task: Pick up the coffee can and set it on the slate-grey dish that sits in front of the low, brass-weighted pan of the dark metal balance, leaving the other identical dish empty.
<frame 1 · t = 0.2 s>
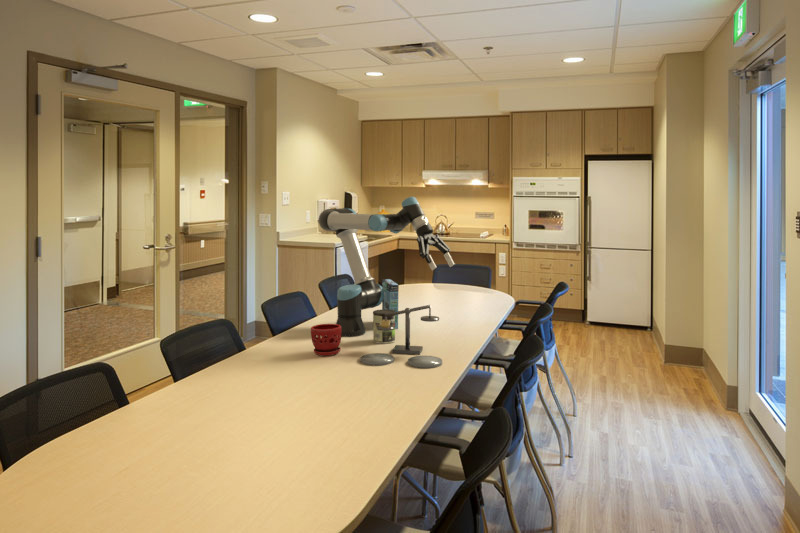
hand: (443, 267, 264), 35 cm above the table, tool tilted 35°, fingers open, 13 cm apart
balance: (407, 351, 255), on the table
dish left: (377, 360, 241), on the table
dish right: (425, 363, 237), on the table
plant pot: (326, 353, 252), on the table
gum box: (390, 325, 306), on the table
coffee can: (384, 341, 273), on the table
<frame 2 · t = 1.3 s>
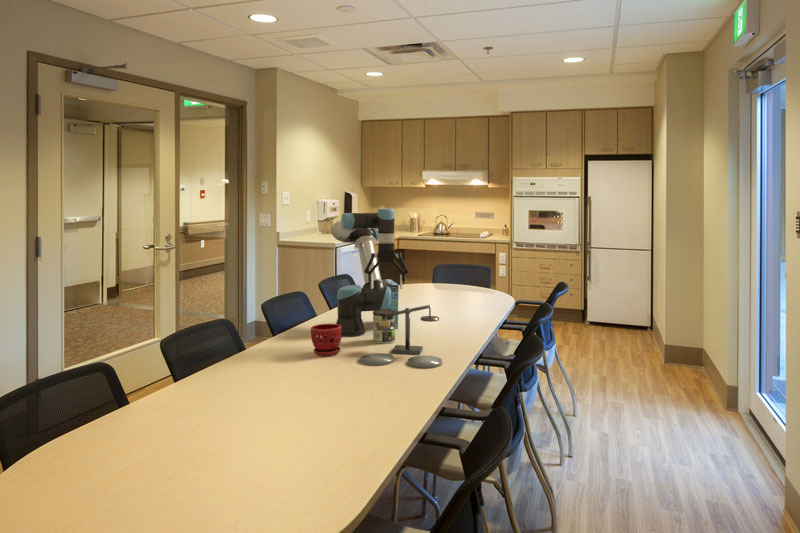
hand: (386, 288, 269), 25 cm above the table, tool pointing down, fingers open, 13 cm apart
nothing on the table moved.
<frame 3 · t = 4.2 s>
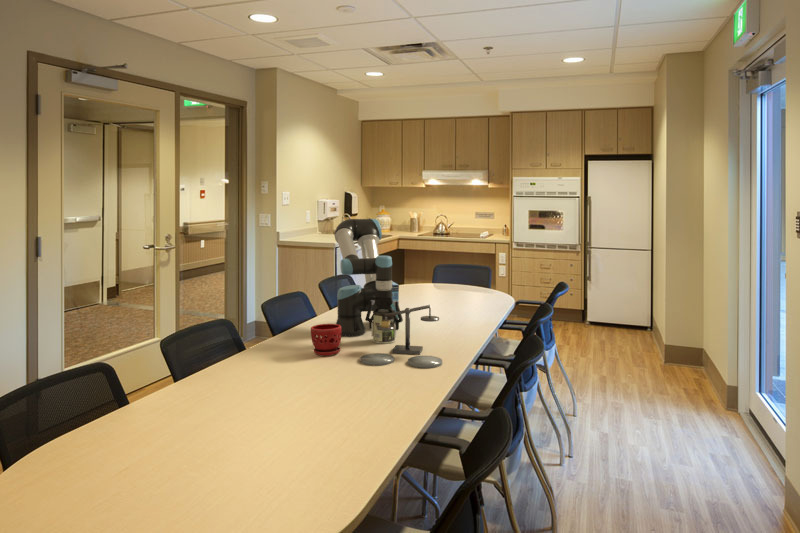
hand: (384, 336, 273), 2 cm above the table, tool pointing down, fingers closed on coffee can, 10 cm apart
coffee can: (384, 341, 273), on the table, touching gripper
everything else where it was.
when the fingers open (5 cm above the table, at t = 12.9 s): coffee can drops 1 cm, resting on dish left.
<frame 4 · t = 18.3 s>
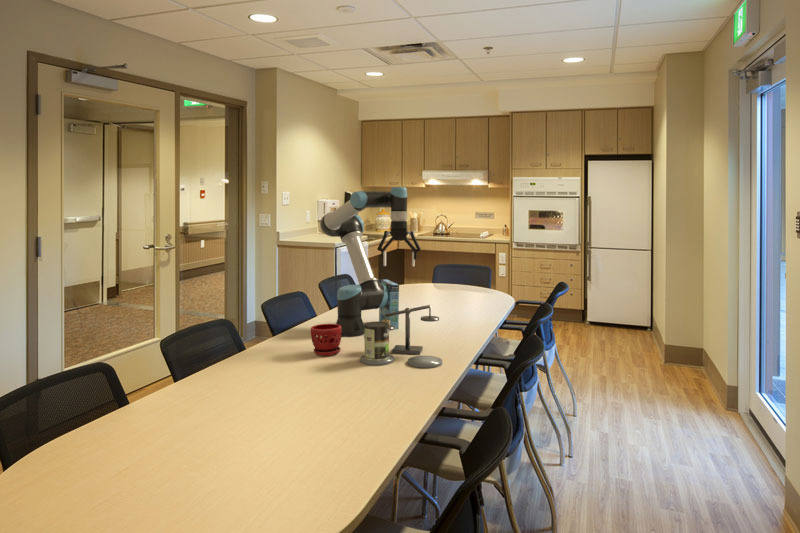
hand: (399, 266, 273), 35 cm above the table, tool pointing down, fingers open, 13 cm apart
coffee can: (376, 358, 241), point 1 cm above the table, touching dish left
at the end: coffee can inside the target area on the dish left (0.1 cm from its centre), point 1.0 cm above the dish left's base; coffee can tilted 0°; the gripper is holding nothing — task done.
